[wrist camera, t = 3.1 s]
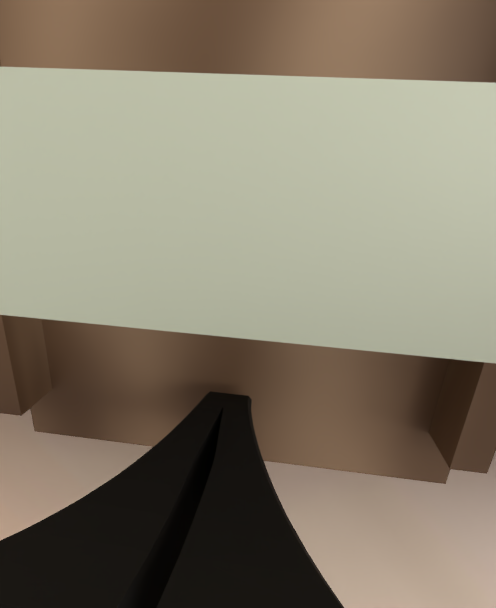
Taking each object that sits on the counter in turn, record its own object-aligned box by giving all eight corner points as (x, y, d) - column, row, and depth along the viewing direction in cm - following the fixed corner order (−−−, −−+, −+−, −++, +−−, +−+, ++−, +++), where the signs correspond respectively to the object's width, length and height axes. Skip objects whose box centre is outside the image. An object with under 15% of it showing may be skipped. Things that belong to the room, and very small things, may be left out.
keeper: (452, 133, 8) (598, 86, 4) (415, 293, 9) (501, 364, 6) (56, 116, 9) (-114, 63, 5) (73, 264, 10) (-51, 309, 6)
